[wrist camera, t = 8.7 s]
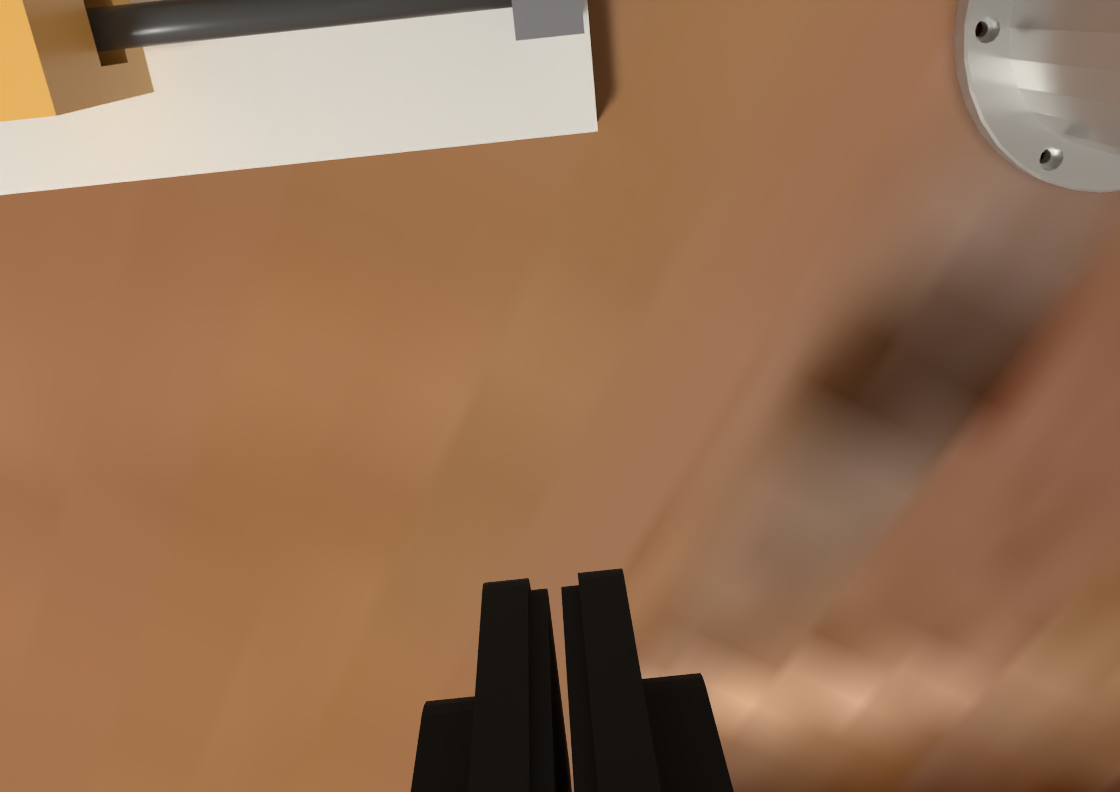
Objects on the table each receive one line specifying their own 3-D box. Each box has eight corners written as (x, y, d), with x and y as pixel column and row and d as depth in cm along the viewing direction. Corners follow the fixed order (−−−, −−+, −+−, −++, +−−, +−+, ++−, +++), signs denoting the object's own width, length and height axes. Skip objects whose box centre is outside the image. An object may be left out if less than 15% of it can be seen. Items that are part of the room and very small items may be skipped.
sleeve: (120, -42, 29) (6, -55, 23) (154, 92, 31) (56, 115, 24) (-39, -25, 29) (-199, -33, 23) (2, 108, 31) (-135, 136, 24)
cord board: (569, -184, 31) (586, -251, 23) (595, 126, 35) (616, 164, 27) (-235, -96, 31) (-507, -132, 23) (-122, 202, 35) (-320, 264, 27)
